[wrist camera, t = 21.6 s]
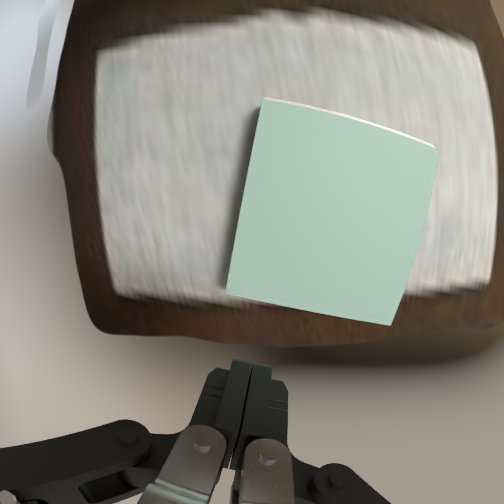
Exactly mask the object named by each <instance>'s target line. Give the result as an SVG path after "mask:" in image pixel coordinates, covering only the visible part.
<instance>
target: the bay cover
mask: <svg viewBox="0 0 504 504" xmlns="http://www.w3.org/2000/svg"><path fill="white" fill-rule="evenodd" d="M438 155H439V150H438V149H436V148H434V147H431V146H429V145H426V144H424V143H421V142H419V141H416V140H414V139H411V138H408V137H406V136H403V135H400V134H397V133H395V132H392V131H389V130H386V129H383V128H380V127H377V126H374V125H370V124H367V123H364V122H360V121H357V120H354V119H350V118H347V117H343V116H339V115H335V114H331V113H327V112H323V111H319V110H315V109H311V108H306V107H301V106H297V105H292V104H287V103H281V102H276V101H270V100H264V99H262V104H261V109H260V113H259V118H258V123H257V128H256V133H255V138H254V143H253V148H252V153H251V158H250V163H249V168H248V173H247V178H246V183H245V188H244V194H243V199H242V204H241V209H240V215H239V220H238V225H237V231H236V236H235V241H234V247H233V252H232V258H231V263H230V269H229V275H228V280H227V286H226V292H225V293H230V294H234V295H238V296H243V297H247V298H251V299H256V300H260V301H265V302H270V303H274V304H279V305H284V306H288V307H293V308H298V309H303V310H308V311H313V312H318V313H323V314H328V315H334V316H339V317H344V318H350V319H355V320H361V321H367V322H372V323H378V324H384V325H390V326H391V323H392V321H393V318H394V316H395V313H396V311H397V308H398V306H399V303H400V300H401V297H402V295H403V292H404V289H405V286H406V283H407V281H408V278H409V275H410V272H411V269H412V265H413V262H414V259H415V256H416V252H417V249H418V246H419V242H420V239H421V235H422V231H423V227H424V224H425V220H426V215H427V211H428V207H429V203H430V198H431V193H432V189H433V184H434V178H435V173H436V167H437V161H438Z"/></svg>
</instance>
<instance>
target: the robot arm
mask: <svg viewBox="0 0 504 504" xmlns="http://www.w3.org/2000/svg"><path fill="white" fill-rule="evenodd" d="M251 365H252V362H248V361H244V360H240V359H235V358H233V361H232V364H231V368H230V370H225V369H221V368H215V369H214V370H213V371H212V372H210V373H209V374H208V376H207V379H206V381H205V385H204V387H203V389H202V392H201V395H200V397H199V400H198V403H197V405H196V408H195V411H194V413H193V416H192V419H191V421H190V423H189V425H188V426H187V427H186V428H185V429H184V430H182V431H181V432H178V433H175V434H152V433H149V431H148V429H146V427H144V426H143V425H142V424H140V423H138V422H136V421H133V420H118V421H115V422H111V423H108V424H105V425H102V426H98V427H95V428H91V429H88V430H84V431H81V432H77V433H73V434H69V435H65V436H61V437H57V438H53V439H48V440H44V441H39V442H34V443H29V444H24V445H18V446H12V447H6V448H0V504H113V503H116V502H119V501H122V500H124V499H127V498H130V497H132V496H135V495H137V494H140V493H142V492H143V494H142V495H141V497H140V499H139V501H138V503H137V504H209V502H210V499H211V496H212V493H213V491H214V488H215V485H216V484H217V483H218V481H219V479H220V475H221V471H222V469H223V468H228V465H229V462H230V458H231V456H232V459H231V463H230V468H229V469H232V470H236V472H235V477H234V481H233V484H232V486H231V494H230V504H391V503H390V502H389V501H387V500H386V499H385V498H384V497H383V496H381V495H380V494H379V493H378V492H377V491H375V490H374V489H373V488H372V487H371V486H370V485H368V484H367V483H366V482H365V481H364V480H363V479H362V478H360V477H359V476H358V475H357V474H356V473H355V472H354V471H353V470H352V469H350V468H349V467H347V466H345V465H342V464H337V463H331V464H326V465H324V466H322V467H321V468H318V467H314V466H312V465H309V464H306V463H304V462H301V461H300V460H298V459H296V458H295V457H294V456H293V455H292V453H291V452H290V450H289V448H288V445H287V427H288V412H287V411H288V390H287V388H286V386H285V385H284V383H283V382H282V381H278V380H272V379H271V374H272V366H268V365H263V364H258V363H253V365H252V369H251ZM250 370H251V373H250ZM249 375H250V376H249ZM232 452H233V454H232Z"/></svg>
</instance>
